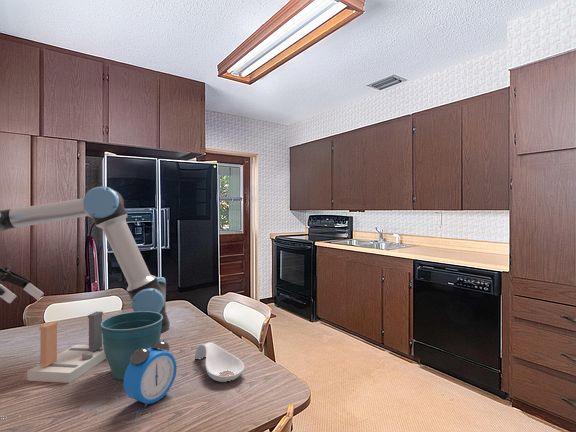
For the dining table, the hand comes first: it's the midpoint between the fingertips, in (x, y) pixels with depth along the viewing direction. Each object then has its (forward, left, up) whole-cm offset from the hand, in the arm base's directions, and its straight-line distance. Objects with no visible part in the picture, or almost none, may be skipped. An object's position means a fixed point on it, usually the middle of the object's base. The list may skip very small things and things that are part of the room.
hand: (27, 298), depth 109 cm
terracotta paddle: (-10, +10, -19) cm, 24 cm away
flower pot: (-36, +15, -23) cm, 45 cm away
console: (-16, +6, -22) cm, 28 cm away
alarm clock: (-44, +33, -23) cm, 59 cm away
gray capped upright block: (-21, +1, -19) cm, 28 cm away
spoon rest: (-62, +21, -23) cm, 69 cm away
